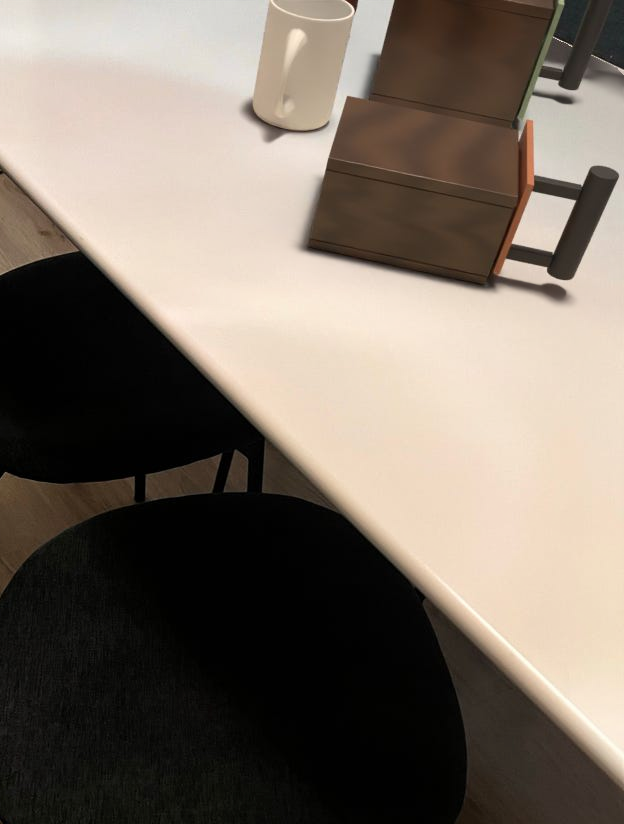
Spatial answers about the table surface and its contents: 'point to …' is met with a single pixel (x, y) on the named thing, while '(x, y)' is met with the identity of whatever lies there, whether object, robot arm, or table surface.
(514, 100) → the wooden drawer cabinet
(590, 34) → the green drawer
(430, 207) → the cubby low
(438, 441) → the table surface
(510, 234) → the orange drawer
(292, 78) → the mug
